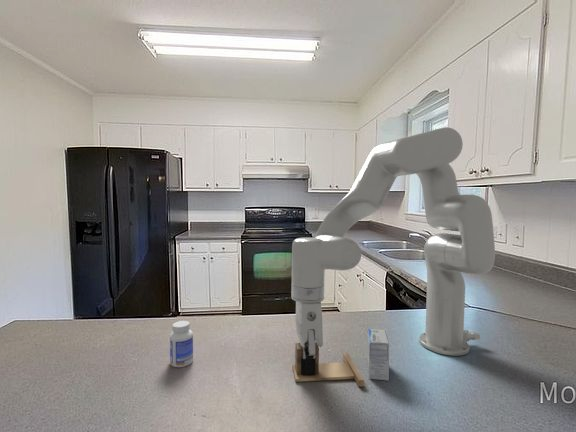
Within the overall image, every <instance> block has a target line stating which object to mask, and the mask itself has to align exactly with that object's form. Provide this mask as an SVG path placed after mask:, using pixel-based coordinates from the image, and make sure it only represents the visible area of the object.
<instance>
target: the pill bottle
mask: <svg viewBox="0 0 576 432" xmlns="http://www.w3.org/2000/svg"><path fill="white" fill-rule="evenodd" d="M190 327H191V325H190V322H189V321H187V320H180V321H179V320H178V321H176V322H174V323H173V324H172V327H171V328H172V332H171V333H170V335H169V364H170V366H172V367H174V368H184V367H187V366H190V365H191V364H192V363H193V362H194V333H193V330H191V329H190Z"/></svg>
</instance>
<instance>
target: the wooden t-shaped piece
mask: <svg viewBox="0 0 576 432" xmlns="http://www.w3.org/2000/svg"><path fill="white" fill-rule="evenodd" d="M294 344H295V345H294V346H295V349H294V351H295V353H294V354H295V355H294V357H295V360H294V362H295V363H294V364H292V373H293V376H294V381H295V382H297V383H298V382H299V383H301V382H315V381H321V382H322V381H335V380H339V381H340V380H354V381H355V382H356V385H357V386H358V387H359V388H360V387H361V388H362V387H365V379H364V377H363V376H362V374H361V373H360V371H359V369H358V368H357V366H356V364H355V363H354V361H353V359H352V357H351V356H350V354H349V353H348V352H342V359H343V362H326V363H325V362H324V363H320V361H319V360H320V348H319V347H320V346H318V345H317V343H316V341H315V358H316V362H315V375H306V376H302V375H301V357H303V356H302V346H301V345H300V343H299V342H295V343H294ZM305 344H308V343H305ZM306 350H308V348H306Z"/></svg>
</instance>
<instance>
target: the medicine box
mask: <svg viewBox="0 0 576 432" xmlns="http://www.w3.org/2000/svg"><path fill="white" fill-rule="evenodd" d="M366 336H367V337H366V338H367V340H366V341H367V342H366V343H367V344H366V345H367V347H366V348H367V349H366V350H367V351H366V363H367V370H368V378H369V379H370V380H378V381H386V382H387V381H389V380H390V343H389V340H388V339H389V338H388V335H387V332H386V330H385V329H378V328H367V335H366Z"/></svg>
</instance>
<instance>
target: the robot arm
mask: <svg viewBox="0 0 576 432" xmlns="http://www.w3.org/2000/svg"><path fill="white" fill-rule="evenodd" d="M462 150H463V139H462V136H461V134H460V133H459V132H458V131H457V130H456V129H454V128H451V127H439V128H436V129H433V130H429V131H424V132H420V133H416V134H414V135H413V134H412V135H410V136H406V137H401V138H398V139H394V140H390V141H387V142H382V143H381V144H378V145H376V146H374V148H372V150H371V151H370V153H369V154H368V156H367V157H366V159H365V162H364V164H363V165H362V166H361V167H362V168H361V169H360V171H359V173H358V174H357V176H356V178H355V180H354V182H353V184H352V186H351V187H350V190H349V191H348V193H347V194H346V195H345V196H344V197H343V198H342V199H340V201H339V202H338V203H337V204H336V205H335V206H334V207H333V208H332V209H331V210H330V211H329V213H327V215H326V216H325V217H324V219H323V221H321V224H320V225H319V227H318V229H317V231H316V233H315V235H314V237H297V238H295V239H294V240H293V241H292V242H291V243H292V245H291V296H290V297H291V300H293V301H294V302H295V330H296V331H295V332H296V335H297V339H298V341H299V342H298V343H300V345H301V346H302V356H303V357H301V375H302V376H306V375H315V362H316V358H315V342H316V343H317V345H318V347H320V348H322V347H323V345H324V332H323V330H324V329H323V327H324V326H323V307H322V302H323V301H324V300H325V275H326V274H325V271H326V270H331V271H332V270H333V271H334V270H335V271H349V270H351V269H354V268H356V266H358V265H359V264H360V262H361V259H362V250H361V247H360V246H359V244H358V243H357V242H355V241H354V240H352V239H351V238H348V237H344V236H345V235H346V234H347V233H348V231H349V230H350V229H351V227H352V226H354V225H355V224H356V223H358V222H359V221H361V220H363V219H365V218H367V217H369V216H371V215H373V214H374V213H376V212H378V211H380V209H381V208H382V206H383V204H384V203H385V200H387V196H388V195H389V193H390V190H391V188H392V186H393V184H394V183H395V181H396V179H397V178H398V177H400V176H409V175H415V174H416V175H417V177H418V178H419V180H420V183H421V188H422V196H423V203H424V212H425V213H424V214H425V218H426V222H427V224H428V225H429V226H430V227H431V228H434V229H436V230H443V231H451V232H459V233H460V234H454V233H445V232H444V233H443V232H442V233H441V232H440V233H434V234H433V235H431V236H429V237H428V238H427V239H426V241H425V243H424V246H423V252H424V253H423V254H424V261H425V266H426V299H425V300H426V302H425V303H426V304H425V305H426V306H425V332H423V333H421V334H420V335H419V341H418V342H419V343H420V344H421V345H422V347H424V348H426V350H427V349H428V350H430V351H432V352H434V353H437V354H440V355H445V356H453V357H458V356H465V355H467V354H468V353H469V352H470V344H469V343H468V342H470V341H471V340H472V341H478V340H480V339H481V337H480V334H479V332H469V330H467V329H465V303H466V302H465V301H466V283H465V279H464V276H463V275H462V273H465V274H469V275H473V276H474V275H475V276H482V275H485V274H488V273H489V272H491V270H492V269H493V267H494V265H495V259H496V246H495V244H496V243H495V236H494V234H495V233H494V225H493V215H492V214H493V213H492V210H491V206H490V205H489V204H488V202H487V201H486V200H485V199H484V198H483V197H481V196H479V195H476V194H460V193H459V187H458V183H457V177H456V173H455V171H454V168H453V167H452V166H451V165H450V163H452V162H454V161H455V160H456V159H458V157H459V156H460V154H461V153H462ZM305 343H308V344H305ZM306 348H308V350H306Z"/></svg>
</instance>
